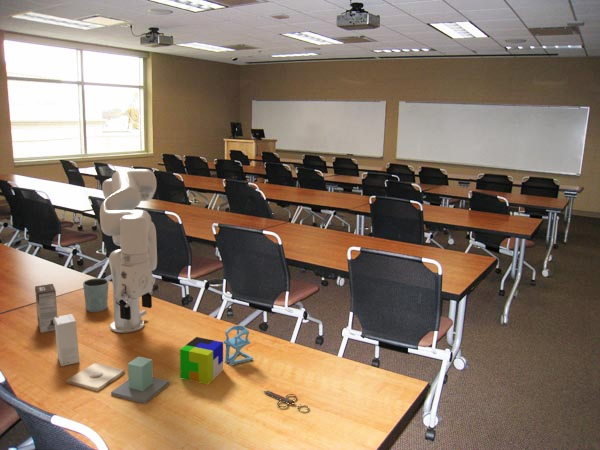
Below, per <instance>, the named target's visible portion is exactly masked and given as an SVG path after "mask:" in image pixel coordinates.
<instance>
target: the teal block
mask: <svg viewBox="0 0 600 450" xmlns="http://www.w3.org/2000/svg"><path fill="white" fill-rule="evenodd" d="M153 366H154V365H153V359H152V358H147V357H142V356H137V357H135V358H133V360H130V361H129V362H128V363H127V372H128V373H127V374H128V375H127V376H128V379H127V380H129V388H131V389H135V390H139V391H142V392H143V391H144V390H145V389H147V388H148V387H149V386H150V385H152V384H153V377H154V373H153V372H154V371H153V370H154V368H153Z"/></svg>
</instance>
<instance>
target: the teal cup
mask: <svg viewBox="0 0 600 450" xmlns="http://www.w3.org/2000/svg"><path fill="white" fill-rule="evenodd" d="M109 282H110V281H109V280H108V279H107V278H101V277H100V278H89V279H86V280H85V281H83V282H82V285H83V292H84V303H85V310H86V311H87V312H89V313H91V312H92V313H98V312H104V311H105V310H107V309H108V299H109V298H108V297H109V285H110V284H109Z"/></svg>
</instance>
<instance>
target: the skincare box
mask: <svg viewBox="0 0 600 450" xmlns="http://www.w3.org/2000/svg"><path fill="white" fill-rule="evenodd" d="M54 322H55V330H54V332H55V341H56V350H57V352H56V354H57V358H58V361H59V364H60V366H61V367H64V366H68V365H75V364H79V363H80V361H81V360H80V354H79V353H80V352H79V343H78V333H77V321H76V319H75V317H74V315H73V313H70V314H64V315H59V316H58V315H57V317H54Z"/></svg>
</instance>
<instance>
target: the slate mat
mask: <svg viewBox="0 0 600 450" xmlns="http://www.w3.org/2000/svg"><path fill="white" fill-rule="evenodd" d="M168 385H170V380H166V379H163V378H158V377H154V376H153V384H152V385H150V386H149V387H148V388H147V389H145V390H144V391H143V392H142V391H139V390H135V389H131V388H129V380H128V379H127V380H126V381H124V382H123V383H121V385H120V384H119V386H117V387H116V388H114V389H113V390H112V391H110V395H111V396H113V397H118V398H122V399H124V400H125V399H126V400H128V401H132V402H137V403H140V404H144V405H145V404H147V403H148V402H150V400H152V399H153V398H154V397H155V396H156V395H157V394H159V393H161V391H163V390H164V389H165V388H167V387H168Z"/></svg>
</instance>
